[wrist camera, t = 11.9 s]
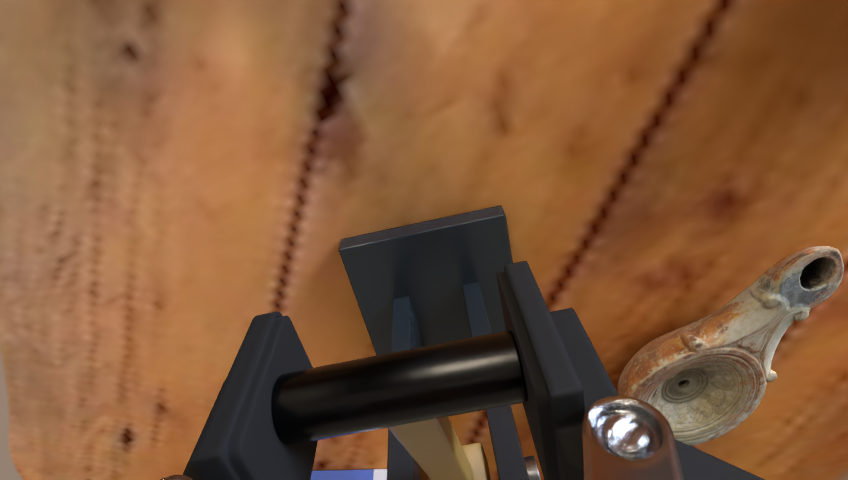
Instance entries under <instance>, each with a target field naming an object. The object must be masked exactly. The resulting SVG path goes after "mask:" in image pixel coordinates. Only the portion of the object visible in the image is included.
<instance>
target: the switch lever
mask: <svg viewBox="0 0 848 480" xmlns="http://www.w3.org/2000/svg"><path fill="white" fill-rule="evenodd" d="M527 401H528V394H527V387H526V382H525V377H524V372H523V367H522V363H521V359H520V355H519V351H518V347H517V344H516V341H515V337H514V335H513V332H512V331H511V330H507V331H502V332H497V333H492V334H487V335H481V336H476V337H471V338H466V339H461V340H456V341H450V342H445V343H440V344H435V345H430V346H425V347H419V348H414V349H409V350H404V351H399V352H393V353H388V354H383V355H378V356H373V357H368V358H362V359H357V360H352V361H347V362H342V363H337V364H331V365H326V366H321V367H316V368H311V369H305V370H300V371H295V372H290V373H285V374H282V375H280V376H279V377H278V378H277V379H276V381H275V384H274V387H273V391H272V397H271V412H272V420H273V425H274V428H275V431H276V434H277V436H278V438H279V439H280V441H281V442H282V443H284V444H286V445H293V444H299V443H304V442H310V441H315V440H321V439H326V438H332V437H337V436H343V435H348V434H354V433H359V432H365V431H370V430H376V429H381V428H387V427H388V428H389V430H390V431H391V432H392V433H393V434H394V436H395V437H396V438H397V439H398V440H399V442H400V443H401V444H402V445H403V446H404V448H405V449H406V450H407V451H408V452H409V453H410V455H411V456H412V457H413V458H414V459H415V461H416V462H417V463H418V464H419V465H420V467H421V468H422V469H423V470H424V471H425V473H426V474H427V475H428V477H429V480H491V478H490V473H489V467H488V462H487V458H486V455H485V452H484V449H483V446H482V444H481V443H474V444H468V445H463V446H461V443H460V441H459V439H458V437H457V435H456V433H455V430H454V428H453V426H452V424H451V422H450V419H449V417H448V416H453V415H458V414H464V413H469V412H475V411H480V410H486V409H491V408H497V407H502V406H508V405H513V404H519V403H524V402H527Z"/></svg>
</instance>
